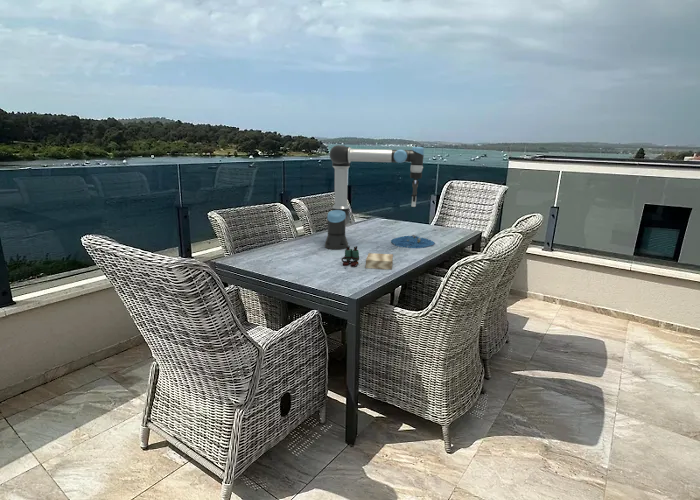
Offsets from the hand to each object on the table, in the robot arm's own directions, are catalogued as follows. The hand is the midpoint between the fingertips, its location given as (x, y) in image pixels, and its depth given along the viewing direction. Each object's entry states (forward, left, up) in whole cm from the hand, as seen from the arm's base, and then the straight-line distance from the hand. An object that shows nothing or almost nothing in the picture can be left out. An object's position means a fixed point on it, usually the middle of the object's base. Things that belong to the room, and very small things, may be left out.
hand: (413, 205), depth 246 cm
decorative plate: (+1, +8, -28) cm, 29 cm away
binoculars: (-34, -50, -28) cm, 67 cm away
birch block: (-18, -47, -28) cm, 58 cm away
